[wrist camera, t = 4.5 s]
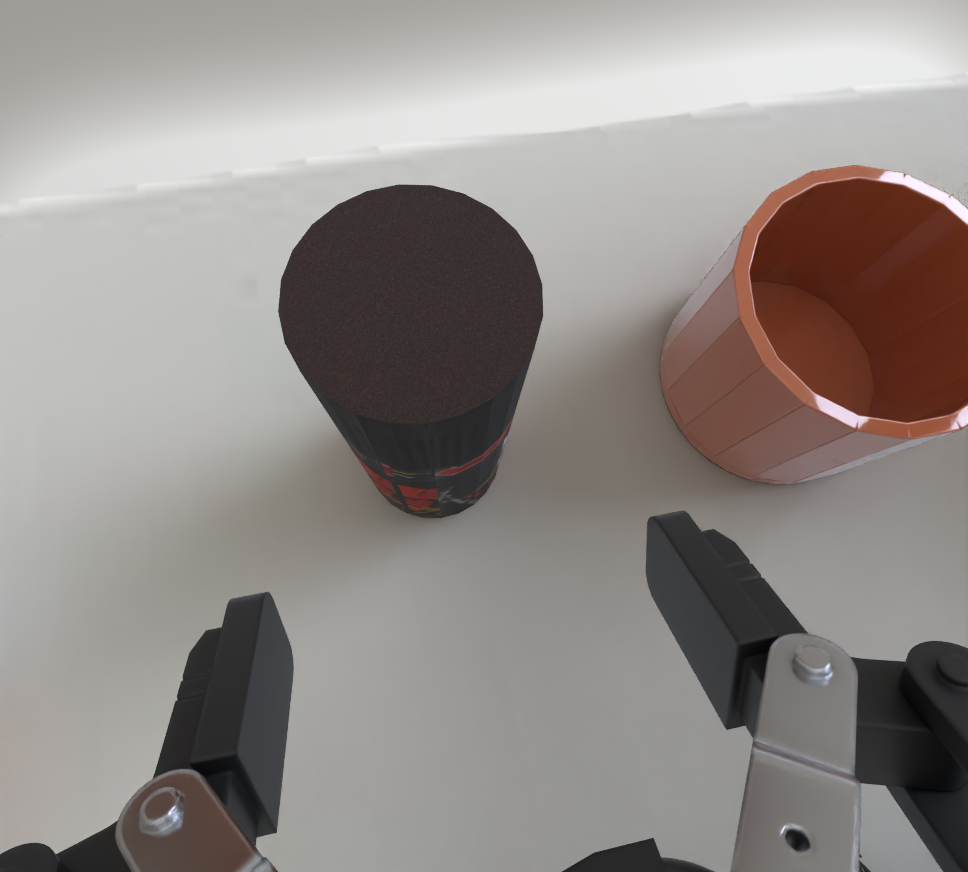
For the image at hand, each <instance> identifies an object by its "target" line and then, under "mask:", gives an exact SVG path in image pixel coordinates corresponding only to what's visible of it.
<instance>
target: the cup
mask: <svg viewBox="0 0 968 872" xmlns="http://www.w3.org/2000/svg"><path fill="white" fill-rule="evenodd" d="M660 376H661V383H662V389H663V393H664V397H665V400H666V403H667V406H668V408H669V410H670V413H671V415H672V417H673V419H674V421H675V422H676V424H677V425H678V427H679V429H680V430H681V432H682V433H683V434H684V435H685V437H686V438H687V439H688V441H689V442H690V443H691V444H692V445H693V446H694V447H695V448H696V449H697V450H698V451H699V452H700V453H701V454H703V455H704V456H705V457H707V458H708V459H709V460H710V461H712V462H713V463H715V464H716V465H718V466H720V467H721V468H723V469H725V470H726V471H729V472H731V473H733V474H735V475H737V476H740V477H743V478H746V479H749V480H752V481H757V482H762V483H767V484H783V485H784V484H796V483H802V482H806V481H811V480H814V479H817V478H821V477H826V476H830V475H833V474H836V473H839V472H842V471H845V470H848V469H850V468H853V467H856V466H859V465H862V464H865V463H868V462H871V461H873V460H876V459H879V458H882V457H885V456H888V455H891V454H894V453H896V452H899V451H902V450H905V449H908V448H911V447H914V446H916V445H919V444H922V443H925V442H928V441H931V440H934V439H937V438H939V437H942V436H945V435H948V434H951V433H954V432H957V431H959V430H962V429H963V428H965V427H966V426H968V209H967V208H966V207H965V206H964V205H962V204H961V203H960V202H959V201H958V200H957V199H955V198H954V197H953V196H952V195H949V194H948V193H946V192H944V191H942V190H940V189H937V188H935V187H933V186H931V185H929V184H927V183H925V182H923V181H920V180H918V179H916V178H914V177H912V176H910V175H908V174H904V173H902V172H896V171H890V170H884V169H878V168H872V167H866V166H860V165H852V166H845V167H838V168H831V169H825V170H818V171H811V172H810V173H807V174H805V175H803V176H801V177H799V178H798V179H796V180H794V181H792V182H790V183H788V184H787V185H785V186H783V187H781V188H779V189H778V190H776V191H774V192H772V193H771V194H770V195H769V196H768V197H767V198H766V200H765V201H764V202H763V203H762V205H761V206H760V207H759V208H758V210H757V211H756V212H755V213H754V215H753V216H752V217H751V218H750V220H749V221H748V222H747V223H746V225H745V226H744V227H743V229H742V230H741V231H740V232H739V234H738V235H737V236H736V238H735V239H734V240H733V242H732V243H731V244H730V246H729V247H728V248H727V250H726V251H725V252H724V253H723V255H722V256H721V257H720V259H719V260H718V261H717V263H716V264H715V265H714V267H713V268H712V269H711V271H710V272H709V273H708V274H707V276H706V277H705V278H704V280H703V281H702V282H701V284H700V285H699V286H698V288H697V289H696V290H695V292H694V293H693V294H692V295H691V297H690V298H689V299H688V301H687V302H686V303H685V305H684V306H683V307H682V309H681V310H680V311H679V313H678V314H677V315H676V316H675V318H674V320H673V322H672V324H671V326H670V327H669V330H668V332H667V334H666V337H665V340H664V344H663V347H662V352H661V361H660Z"/></svg>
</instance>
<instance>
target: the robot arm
mask: <svg viewBox="0 0 968 872" xmlns="http://www.w3.org/2000/svg"><path fill="white" fill-rule="evenodd" d="M646 577H647V582H648V586H649V589H650V592H651V595H652V597H653V599H654V601H655V603H656V605H657V607H658V608H659V610H660V612H661V614H662V616H663V617H664V619H665V621H666V623H667V624H668V626H669V628H670V630H671V632H672V633H673V635H674V637H675V639H676V641H677V642H678V644H679V646H680V648H681V649H682V651H683V653H684V655H685V657H686V658H687V660H688V662H689V664H690V666H691V667H692V669H693V671H694V673H695V675H696V676H697V678H698V680H699V682H700V683H701V685H702V687H703V689H704V691H705V692H706V694H707V696H708V698H709V700H710V701H711V703H712V705H713V707H714V708H715V710H716V712H717V714H718V716H719V717H720V719H721V721H722V723H723V725H724V726H725V728H726V730H728V729H732V728H736V727H741V726H745V725H746V727H747V729H748V731H749V732H750V734H751V736H752V737H753V744H752V750H751V756H750V762H749V767H748V773H747V779H746V784H745V790H744V796H743V802H742V807H741V813H740V819H739V825H738V830H737V836H736V842H735V848H734V853H733V859H732V865H731V870H730V872H859V854H860V815H861V784H860V783H866V784H876V785H886V787H887V788H888V790H889V791H890V793H891V794H892V796H893V797H894V799H895V800H896V802H897V803H898V805H899V806H900V808H901V809H902V811H903V812H904V814H905V815H906V817H907V818H908V820H909V821H910V823H911V824H912V826H913V827H914V829H915V830H916V832H917V833H918V835H919V836H920V838H921V839H922V841H923V842H924V844H925V845H926V847H927V848H928V850H929V851H930V853H931V854H932V856H933V857H934V859H935V860H936V862H937V863H938V865H939V866H940V868H941V869H942V871H943V872H968V648H965V647H963V646H960V645H957V644H953V643H948V642H942V641H929V642H924V643H920V644H918V645H916V646H914V647H913V648H912V649H911V650H910V652H909V653H908V656H907V659H906V662H901V661H886V660H871V659H860V658H854V657H850V656H849V655H848V654H847V653H846V652H845V651H844V650H843V649H841V648H840V647H839V646H837V645H836V644H834V643H833V642H831V641H829V640H827V639H825V638H822V637H819V636H816V635H812V634H808V633H807V632H806V631H805V629H804V628H803V627H802V626H801V624H800V623H799V622H798V621H797V619H796V618H795V617H794V616H793V614H792V613H791V612H790V611H789V609H788V608H787V607H786V606H785V604H784V603H783V602H782V601H781V599H780V598H779V597H778V596H777V594H776V593H775V592H774V591H773V589H772V588H771V587H770V586H769V584H768V583H767V582H766V581H765V579H764V578H763V579H762V578H761V574H760V573H759V572H758V571H757V569H756V568H755V567H754V566H753V564H750V562H749V559H748V558H747V557H746V556H745V554H744V553H743V552H742V551H741V549H740V548H739V547H738V546H737V544H736V543H735V542H733V541H732V540H730V539H729V538H727V537H725V536H724V535H722V534H721V533H719V532H717V531H716V530H714V529H712V530H707V531H702V532H701V530H700V529H699V528H698V526H697V525H696V524H695V522H694V521H693V520H692V518H691V517H690V516H689V514H688V513H687V512H685V511H678V512H673V513H668V514H663V515H658V516H653V517H650V518H649V519H648V523H647V549H646ZM293 669H294V668H293V655H292V650H291V645H290V642H289V639H288V637H287V634H286V631H285V629H284V626H283V624H282V621H281V618H280V616H279V613H278V610H277V608H276V605H275V603H274V600H273V598H272V596H271V594H270V593H269V592H264V593H259V594H254V595H249V596H244V597H239V598H234V599H231V600H230V601H229V602H228V605H227V608H226V612H225V617H224V621H223V625H222V627H221V628H216V629H211V630H206V631H205V633H204V634H203V635H202V637H201V638H200V639H199V641H198V642H197V643H196V645H195V646H194V648H193V649H192V650H191V652H190V653H189V656H188V660H187V663H186V667H185V670H184V673H183V681H181V684H180V687H179V691H178V694H177V698H178V699H177V701H175V705H174V708H173V712H172V715H171V719H170V722H169V726H168V729H167V733H166V736H165V740H164V743H163V747H162V750H161V753H160V757H159V760H158V764H157V767H156V771H155V774H154V777H153V779H152V780H151V781H149V782H148V783H146V784H145V785H144V786H143V787H141V788H140V789H139V790H138V791H137V792H136V793H135V794H134V795H133V796H132V797H131V799H130V800H129V801H128V803H127V804H126V806H125V807H124V809H123V811H122V812H121V815H120V817H119V819H118V821H116V822H115V823H114V824H112V825H111V826H109V827H107V828H105V829H104V830H102V831H100V832H98V833H96V834H94V835H92V836H90V837H89V838H87V839H85V840H83V841H81V842H79V843H77V844H75V845H73V846H71V847H69V848H68V849H66V850H64V851H62V852H60V853H58V854H55V853H54V852H53V850H52V849H51V848H50V847H48V846H46V845H44V844H40V843H28V844H23V845H20V846H17V847H14V848H12V849H10V850H8V851H6V852H4V853H2V854H0V872H278V871H277V870H276V869H275V867H274V866H273V865H272V864H271V862H270V861H269V860H268V859H267V858H266V857H265V858H263V856H262V855H261V854H260V853H259V851H258V850H257V849H256V847H255V846H256V839H257V837H260V836H264V835H269V834H273V833H277V825H278V815H279V806H280V796H281V787H282V777H283V768H284V758H285V749H286V739H287V730H288V720H289V711H290V701H291V692H292V682H293ZM562 872H714V871H711V870H709V869H707V868H705V867H703V866H700V865H697V864H694V863H690V862H687V861H683V860H678V859H673V858H661V856H660V854H659V851H658V849H657V846H656V843H655V841H654V838H652V839H648V840H643V841H639V842H635V843H631V844H627V845H623V846H619V847H615V848H611V849H607V850H603V851H599V852H595V853H593V854H591V855H589V856H588V857H586V858H584V859H583V860H581V861H579V862H578V863H576V864H574V865H573V866H571V867H569V868H567V869H566V870H564V871H562Z"/></svg>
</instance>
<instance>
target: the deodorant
mask: <svg viewBox="0 0 968 872" xmlns="http://www.w3.org/2000/svg"><path fill="white" fill-rule="evenodd" d="M278 312H279V317H280V322H281V327H282V332H283V336H284V341H285V344H286V346H287V348H288V350H289V351H290V353H291V355H292V357H293V359H294V361H295V362H296V364H297V366H298V368H299V370H300V372H301V373H302V375H303V376H304V378H305V379H306V381H307V382H308V384H309V385H310V387H311V388H312V390H313V391H314V393H315V394H316V396H317V398H318V399H319V401H320V402H321V404H322V405H323V407H324V408H325V410H326V411H327V413H328V414H329V416H330V417H331V419H332V420H333V422H334V423H335V425H336V426H337V428H338V429H339V431H340V432H341V434H342V435H343V437H344V438H345V440H346V441H347V443H348V445H349V446H350V448H351V449H352V451H353V452H354V454H355V455H356V457H357V458H358V460H359V461H360V463H361V464H362V466H363V467H364V469H365V470H366V472H367V473H368V475H369V476H370V478H371V479H372V481H373V482H374V484H375V485H376V487H377V488H378V490H379V492H380V493H381V494H382V495H383V496H384V497H385V498H386V499H387V500H388V501H389V502H390V503H391V504H393V505H394V506H396V507H398V508H399V509H401V510H403V511H404V512H406V513H409V514H413V515H416V516H420V517H425V518H442V517H445V516H449V515H453V514H457V513H459V512H461V511H463V510H465V509H467V508H468V507H470V506H472V505H474V504H475V503H476V502H477V501H478V500H479V499H480V498H481V497H482V496H483V495H484V494H485V493H486V491H487V490H488V488H489V486H490V485H491V483H492V481H493V479H494V478H495V475H496V471H497V468H498V465H499V462H500V458H501V455H502V452H503V449H504V445H505V442H506V439H507V436H508V432H509V429H510V426H511V423H512V419H513V416H514V413H515V410H516V406H517V403H518V400H519V397H520V393H521V390H522V387H523V384H524V380H525V377H526V374H527V370H528V367H529V364H530V361H531V357H532V354H533V351H534V348H535V344H536V340H537V337H538V333H539V329H540V325H541V322H542V318H543V297H542V283H541V280H540V277H539V274H538V270H537V267H536V264H535V261H534V258H533V255H532V254H531V252H530V251H529V249H528V247H527V246H526V244H525V243H524V241H523V240H522V238H521V237H520V235H519V234H518V232H517V231H516V229H514V228H513V227H512V226H511V225H510V224H509V223H508V222H507V221H506V220H504V219H503V218H502V217H501V216H500V215H499V214H498V213H497V212H495V211H494V210H493V209H492V208H490V207H488V206H486V205H484V204H482V203H481V202H479V201H477V200H475V199H473V198H471V197H469V196H467V195H465V194H463V193H459V192H455V191H451V190H448V189H444V188H440V187H436V186H431V185H395V186H390V187H385V188H380V189H375V190H370V191H366V192H364V193H362V194H360V195H358V196H356V197H353V198H351V199H349V200H347V201H345V202H342V203H340V204H338V205H337V206H335V207H334V208H333V209H331V210H330V211H329V212H328V213H326V214H325V215H324V216H323V217H321V218H320V219H319V220H317V221H316V222H315V223H314V224H312V225H311V227H310V228H309V229H308V231H307V232H306V233H305V235H304V236H303V237H302V239H301V240H300V241H299V243H298V244H297V245H296V247H295V248H294V249H293V251H292V253H291V256H290V258H289V261H288V264H287V266H286V269H285V271H284V274H283V276H282V279H281V287H280V298H279V310H278Z"/></svg>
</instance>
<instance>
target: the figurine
mask: <svg viewBox="0 0 968 872" xmlns="http://www.w3.org/2000/svg"><path fill="white" fill-rule="evenodd" d="M859 857H861V855H860V854H859ZM861 858H862V857H861ZM859 864H860V865H861V866H860V865H859V872H864V871H865V872H870V871H869V870H868V869H867V868H866V867H865V866H864V865H863V864H862V863H861V862H860V861H859ZM861 867H862V868H863V870H864V871H863V870H862V868H861Z"/></svg>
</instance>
